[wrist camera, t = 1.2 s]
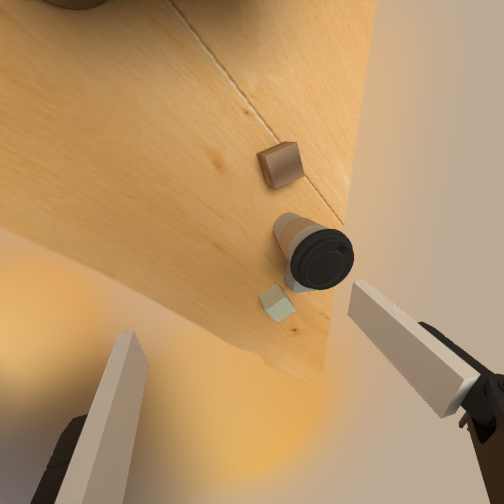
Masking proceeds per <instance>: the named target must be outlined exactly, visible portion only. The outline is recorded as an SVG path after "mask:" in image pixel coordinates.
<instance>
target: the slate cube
mask: <svg viewBox="0 0 504 504" xmlns="http://www.w3.org/2000/svg"><path fill="white" fill-rule="evenodd" d="M284 280H285V281H286V283H287V284H288V286H289V287H290V289H291V291H292V292H293V293H294V292H306V291H315V289H310V288H306V287H304V286H302V285H300V284H299V283H298V282H297V281H296V280H295V279H294V278H293V276H292V274H291V270H290V264H289V262H288V260H287V264H286V270H285V276H284Z"/></svg>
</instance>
